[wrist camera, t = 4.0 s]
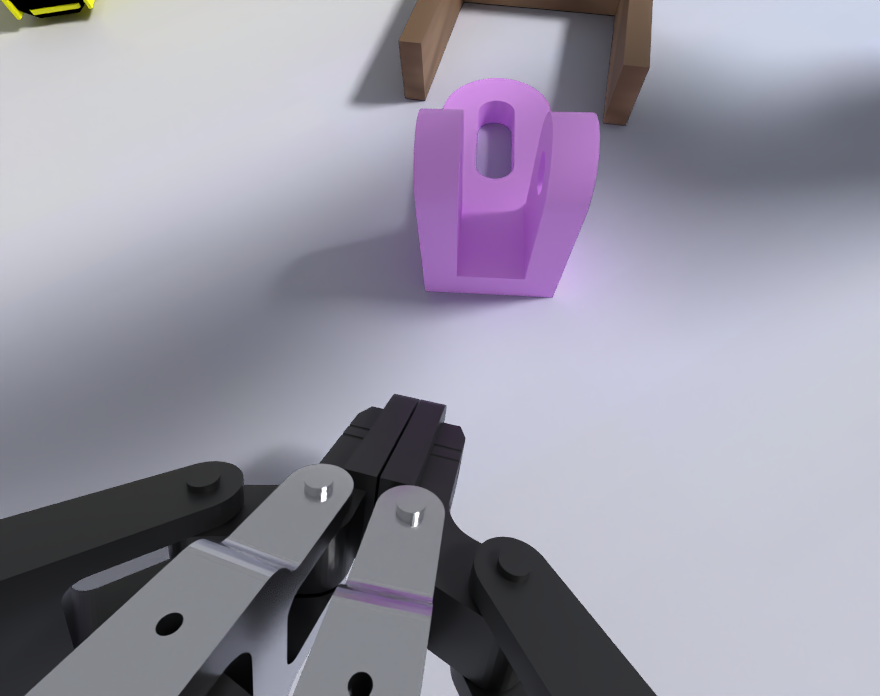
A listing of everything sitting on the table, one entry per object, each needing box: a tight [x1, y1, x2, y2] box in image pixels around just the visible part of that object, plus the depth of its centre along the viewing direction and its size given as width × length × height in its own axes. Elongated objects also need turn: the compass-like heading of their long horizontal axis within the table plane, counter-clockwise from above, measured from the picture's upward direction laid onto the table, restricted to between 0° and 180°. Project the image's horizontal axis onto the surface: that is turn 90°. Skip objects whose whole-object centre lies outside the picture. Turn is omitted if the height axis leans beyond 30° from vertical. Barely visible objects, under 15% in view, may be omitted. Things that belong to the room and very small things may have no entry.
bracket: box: [414, 78, 600, 297], centre depth 18 cm, size 13×6×7 cm, turn 175°
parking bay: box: [399, 0, 653, 126], centre depth 24 cm, size 12×12×3 cm
